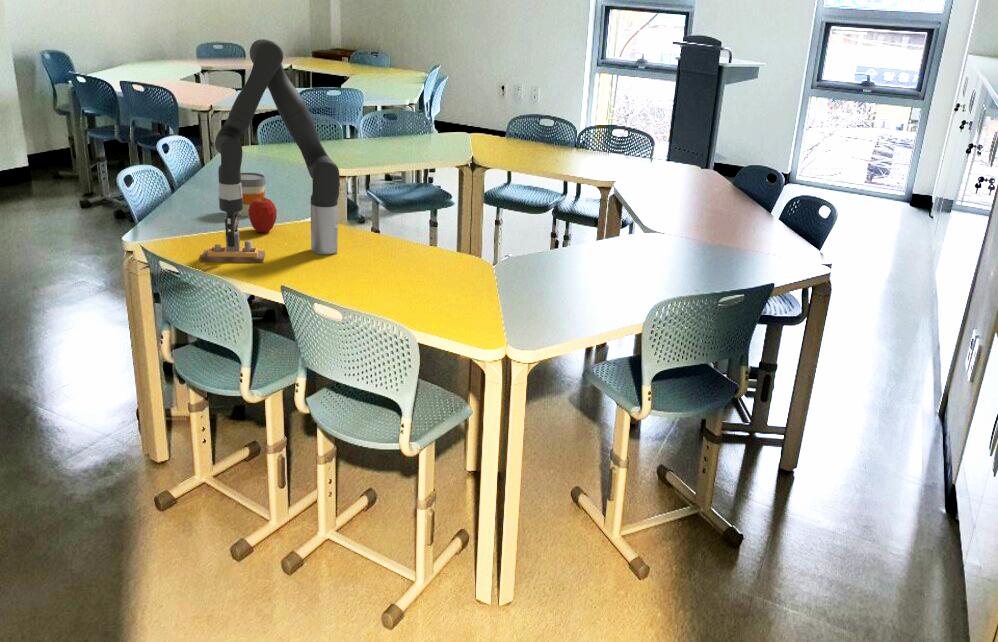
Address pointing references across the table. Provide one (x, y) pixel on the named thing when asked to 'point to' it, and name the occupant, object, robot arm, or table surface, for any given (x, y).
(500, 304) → the table surface
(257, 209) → the apple
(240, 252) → the hole bar
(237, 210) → the robot arm
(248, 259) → the pin board
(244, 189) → the reusable coffee cup
